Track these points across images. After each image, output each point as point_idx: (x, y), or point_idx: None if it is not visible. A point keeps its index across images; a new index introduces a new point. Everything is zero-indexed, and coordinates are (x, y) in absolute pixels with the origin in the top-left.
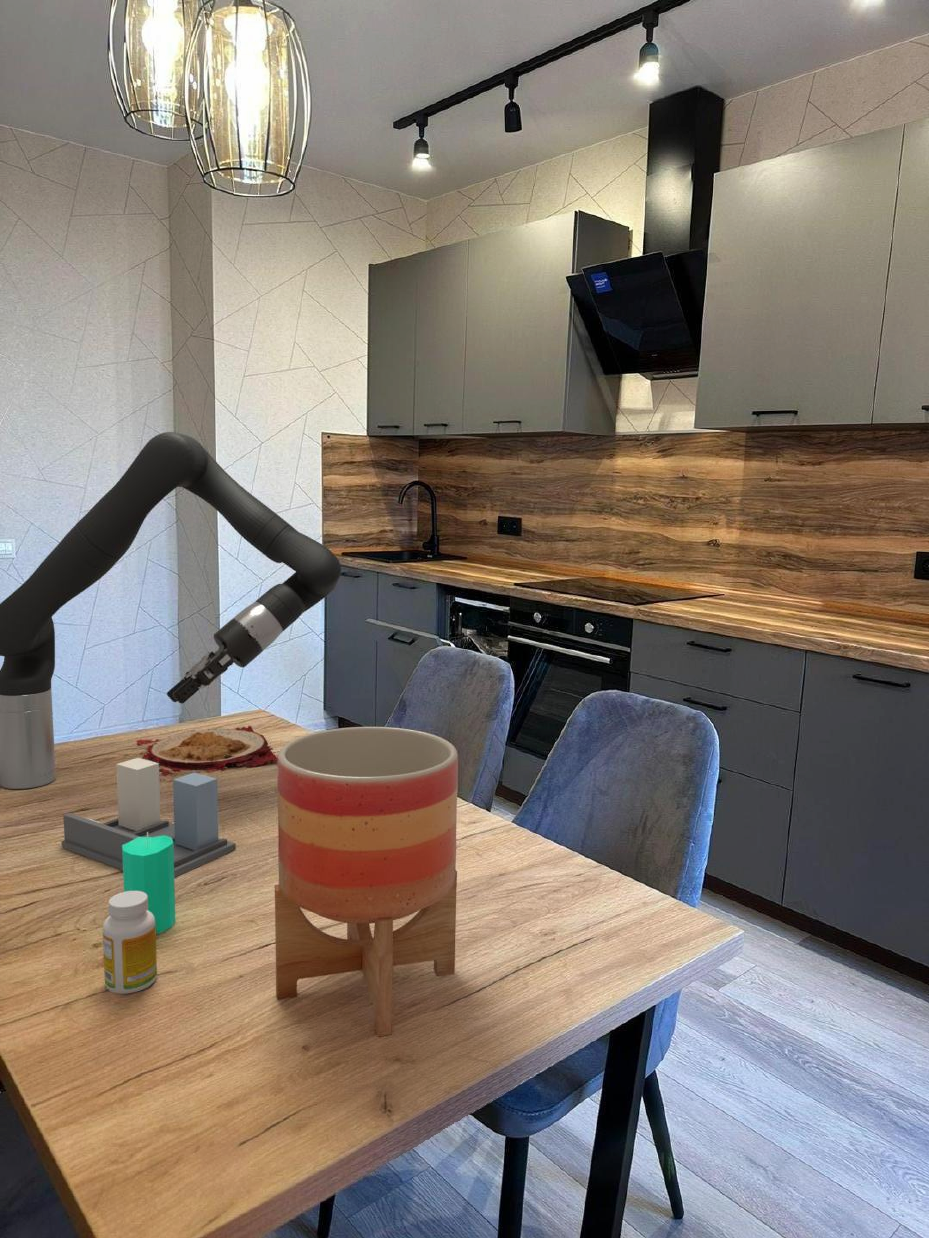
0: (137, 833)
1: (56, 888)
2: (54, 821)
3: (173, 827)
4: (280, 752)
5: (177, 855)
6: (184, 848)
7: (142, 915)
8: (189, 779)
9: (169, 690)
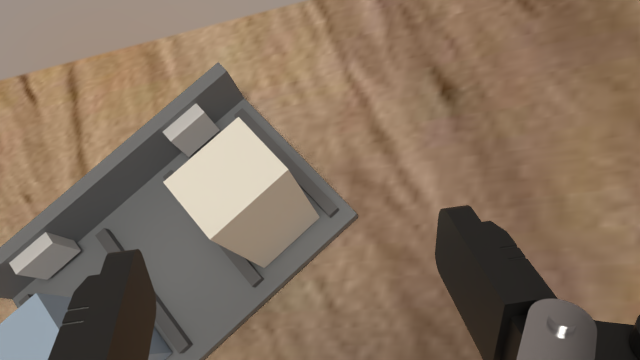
0: None
1: (68, 119)
2: (383, 50)
3: (243, 299)
4: None
5: None
6: None
7: None
8: (17, 343)
9: (464, 216)
